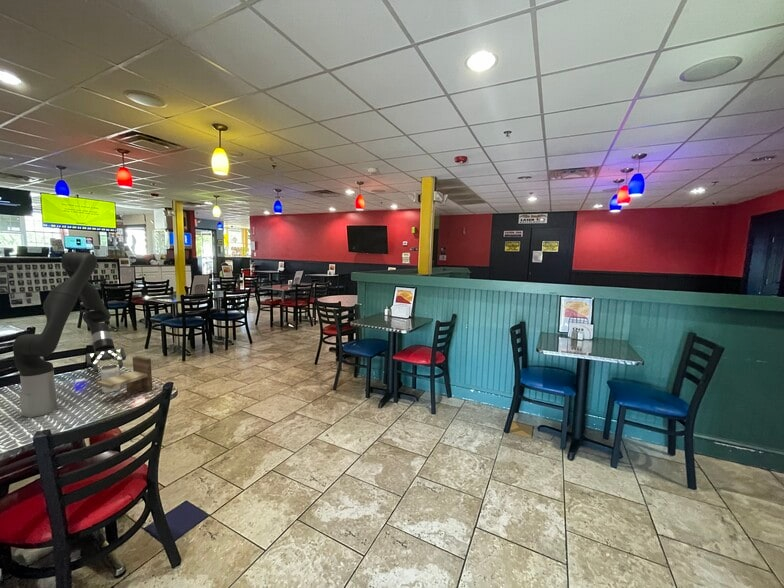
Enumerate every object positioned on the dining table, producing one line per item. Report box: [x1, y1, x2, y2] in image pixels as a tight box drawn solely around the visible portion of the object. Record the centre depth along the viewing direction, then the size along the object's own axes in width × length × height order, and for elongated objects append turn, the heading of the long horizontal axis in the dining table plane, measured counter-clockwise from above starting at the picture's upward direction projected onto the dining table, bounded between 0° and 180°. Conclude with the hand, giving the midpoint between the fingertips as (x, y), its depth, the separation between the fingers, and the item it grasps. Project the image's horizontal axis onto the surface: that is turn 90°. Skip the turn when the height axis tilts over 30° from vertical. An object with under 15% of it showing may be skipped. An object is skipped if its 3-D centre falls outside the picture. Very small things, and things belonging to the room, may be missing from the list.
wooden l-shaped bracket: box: [96, 355, 154, 396], centre depth 148 cm, size 17×10×16 cm, turn 161°
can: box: [100, 364, 121, 394], centre depth 153 cm, size 6×6×12 cm
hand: (109, 369), depth 153 cm, fingers open, 8 cm apart
